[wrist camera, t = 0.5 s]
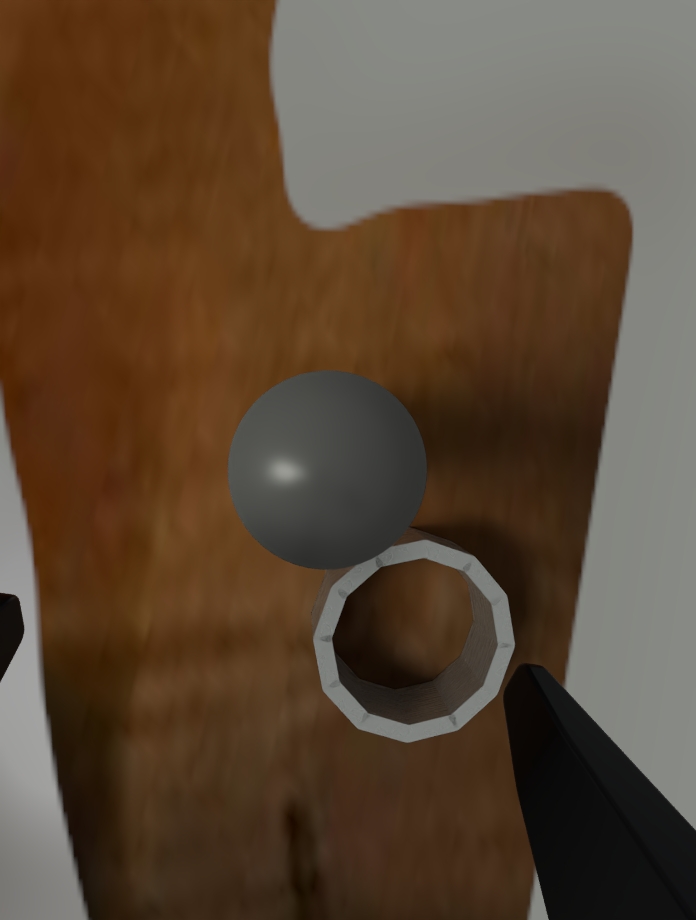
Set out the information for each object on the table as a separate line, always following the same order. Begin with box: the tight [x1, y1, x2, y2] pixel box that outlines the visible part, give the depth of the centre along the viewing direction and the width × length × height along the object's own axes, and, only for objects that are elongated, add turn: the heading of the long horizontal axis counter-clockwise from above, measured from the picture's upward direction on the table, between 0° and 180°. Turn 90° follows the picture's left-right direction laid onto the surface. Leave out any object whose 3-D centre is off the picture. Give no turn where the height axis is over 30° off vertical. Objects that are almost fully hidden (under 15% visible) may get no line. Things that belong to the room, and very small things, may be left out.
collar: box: [311, 527, 515, 743], centre depth 22 cm, size 9×9×3 cm
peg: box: [228, 371, 427, 569], centre depth 17 cm, size 4×4×13 cm
